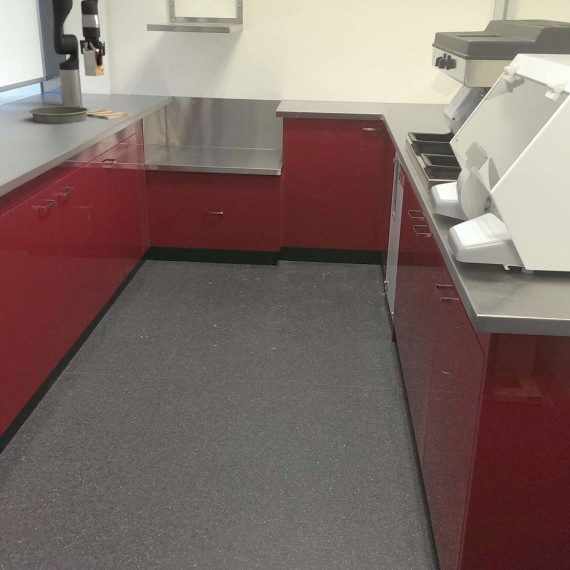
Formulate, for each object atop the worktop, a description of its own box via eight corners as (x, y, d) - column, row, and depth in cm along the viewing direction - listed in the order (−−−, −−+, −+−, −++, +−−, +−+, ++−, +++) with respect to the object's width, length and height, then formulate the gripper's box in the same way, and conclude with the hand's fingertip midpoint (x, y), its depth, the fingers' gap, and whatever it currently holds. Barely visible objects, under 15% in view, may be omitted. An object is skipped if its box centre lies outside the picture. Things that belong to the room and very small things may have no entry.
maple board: (78, 114, 309) (78, 112, 308) (100, 111, 319) (100, 109, 318) (108, 119, 298) (108, 117, 298) (130, 116, 308) (130, 113, 308)
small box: (96, 76, 301) (94, 51, 297) (84, 76, 302) (82, 51, 298) (104, 75, 308) (102, 50, 304) (93, 74, 309) (91, 50, 305)
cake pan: (29, 116, 301) (28, 106, 300) (86, 115, 310) (85, 105, 308) (31, 125, 280) (30, 114, 278) (92, 123, 288) (91, 112, 287)
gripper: (73, 25, 298) (76, 64, 304) (95, 26, 291) (98, 66, 297) (86, 25, 304) (89, 63, 310) (108, 26, 296) (111, 66, 303)
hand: (93, 65), depth 303 cm, fingers closed on small box, 7 cm apart
